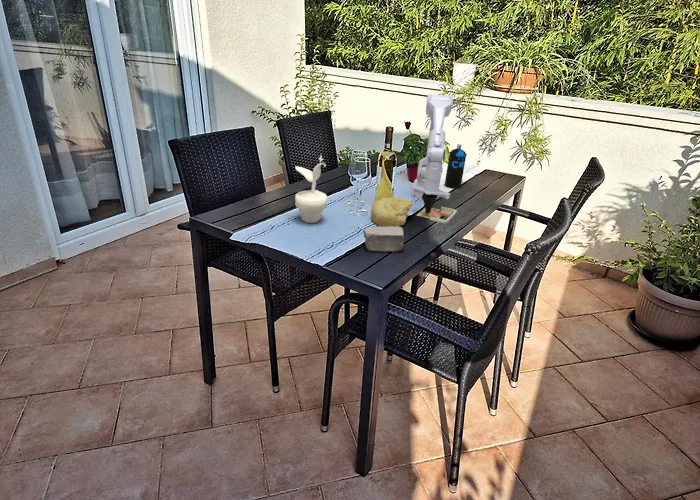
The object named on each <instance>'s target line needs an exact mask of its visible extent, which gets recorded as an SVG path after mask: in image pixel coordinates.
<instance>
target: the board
mask: <svg viewBox="0 0 700 500" xmlns="http://www.w3.org/2000/svg"><path fill="white" fill-rule="evenodd" d="M434 208H435V209H436V210H437V211H438V212H440V211H441V208H440V209H439V208H436V207H432V208H431V211H432V210H433V209H434ZM431 211H430V212H431ZM416 216H418V217H423V218H427V219H429V220H430V216H429V215H428V213H425V207H424V208H423V209H422V210H420V211H419V212H418V213H417V214H416Z"/></svg>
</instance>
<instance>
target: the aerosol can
mask: <svg viewBox="0 0 700 500" xmlns="http://www.w3.org/2000/svg"><path fill="white" fill-rule="evenodd" d="M466 159H467V153H466V151H465V150H463V149H462V144H461V143H457V145H456V148H454V149H452V150H451V151H449V152H448V162H447V168H446V174H445V180H444V183H443V186H444V187H445V186H446V188H449V189H454V190H457V189H461V188H462V183H463V176H464V170H465V165H466Z"/></svg>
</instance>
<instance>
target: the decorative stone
mask: <svg viewBox="0 0 700 500" xmlns="http://www.w3.org/2000/svg"><path fill="white" fill-rule="evenodd" d="M403 229H404V228H403V226H402V227H401V226H400V227H391V226H389V227H380V226H373V227H368V228H363V230H362V231H363V236H364V238H365V239H364V240H365V242H364V246H365V248H366V250H367V251H369V252H376V253H377V252H378V253H379V252H381V253H389V252H390V253H394V252H395V253H396V252H402V251H403V249H404V238H405V236H404V232H405V231H404V230H403Z"/></svg>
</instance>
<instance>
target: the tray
mask: <svg viewBox="0 0 700 500" xmlns="http://www.w3.org/2000/svg"><path fill="white" fill-rule="evenodd" d="M440 210H441V211H442V210H446V211H450V212H452V214H451V215H450V216H449V217H447V219H442V218H434V217H430V219H429V221H434V222H438V223H443V224H445V225H446V224H448V223H449V221H451V220H452V218H453V217H454V216H455V215H456V214H457V212H458V209H455V208H451V207H450V208H449V207H445V206H440Z"/></svg>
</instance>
